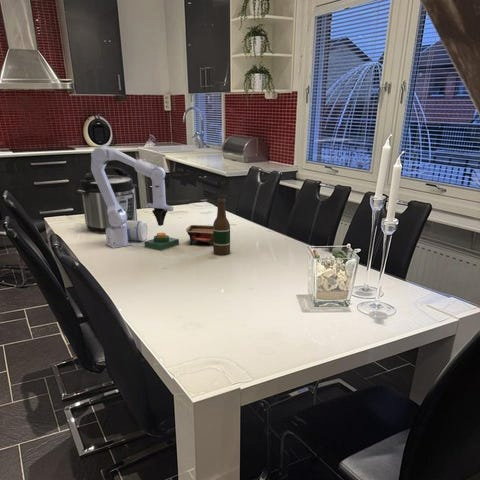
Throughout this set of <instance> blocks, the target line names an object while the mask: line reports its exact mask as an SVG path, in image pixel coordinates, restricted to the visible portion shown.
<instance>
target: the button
mask: <svg viewBox="0 0 480 480" xmlns="http://www.w3.org/2000/svg"><path fill="white" fill-rule="evenodd" d="M156 235H157V237H158V238H165V237H166V235H167V234H166V232H158V233H156Z"/></svg>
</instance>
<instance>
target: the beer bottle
mask: <svg viewBox="0 0 480 480" xmlns="http://www.w3.org/2000/svg"><path fill="white" fill-rule="evenodd" d="M226 202H227V201H226V198H222V197H219V198H217V212H216V217H215V219H214V220H213V224H212V226H213V245H212V248H213V249H212V251H213V253H214V255H216V256H227V255H229V254H230V253H231V225H230V222H229V220H228V218H227V212H226Z"/></svg>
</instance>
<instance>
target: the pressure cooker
mask: <svg viewBox="0 0 480 480" xmlns="http://www.w3.org/2000/svg"><path fill="white" fill-rule="evenodd" d="M104 170H113V171H114V172H115V174H106V176H107V178H108V181H109V183H110V185H111V188H112V190H113V192H114V195H115V197H116V200H117V202H118V204H119V205H120V206H121V207H122V209H123V211H125V212H126V214H127V220H130V221H138V211H137V210H138V209H137V198H136V188H138V184H136V183H134V181H133V180H134V179H133V176H132V175H130V174H129V173H128V172H127V171H125V170H124V169H122V168H119V167H115V166H105V169H104ZM76 193H77V194H80V195H81V198H82V199H81V200H82V205H83V214H84V221H85V225H86V228H87V229H88V230H89V231H90V232H94V233H100V234H106V228H109V227H111V225H110V223H109V221H108V218H109V217H108V214H107V206H106V203H105V201H104V199H103V196H102V194H101V192H100V189H99V187H98V185H97V182H96V180H95V178H94V175H93V173H92V171H91V170H90V171H89V172H88V173H86V174H85V175H84V178H83V179H80V187H78V188H77V189H76Z"/></svg>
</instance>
